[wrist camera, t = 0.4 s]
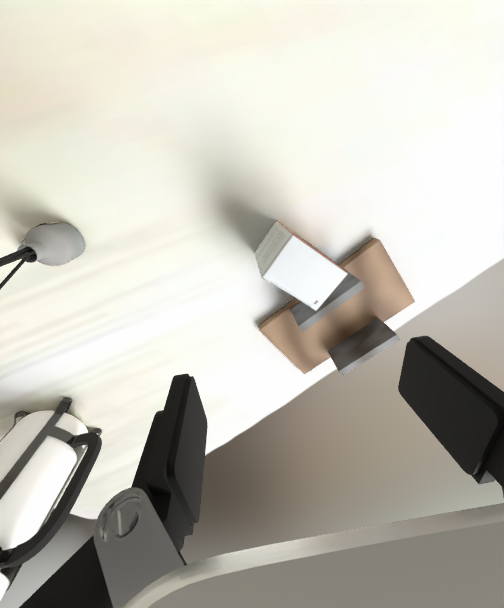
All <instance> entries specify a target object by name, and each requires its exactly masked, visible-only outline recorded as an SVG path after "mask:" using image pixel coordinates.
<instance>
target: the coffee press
mask: <svg viewBox="0 0 504 608" xmlns="http://www.w3.org/2000/svg"><path fill="white" fill-rule="evenodd" d="M71 403H72V400H71V399H67V398H63V399H62V401H61V403H60V404H59V406H58V408H57V409H56V411H52V410H45V411H38V412H34V413H31V414H29V415H27V414H26V412H24V411H20V412H17V413H16V414H15V417H14V426H13V427H12V428H11V430H10V431H9V432H8V433H7V434H6V435H5V436H4V437H3V439H2V440H1V441H0V600H1V598H2V597H3V595H4V593H5V592H6V591H7V590H8V589H9V588H10V586H11V584H12V582H13V581H14V579H15V577H16V575H17V573H18V572H19V570H20V568H21V566H22V564H23V563H24V562H26V561H28V560H29V559H31V558H32V557H33V556H35V555H36V554H37V553H38V552H40V551H41V550H42V549H43V548H44V547H45V546H46V544H48V542H49V541H50V540H51V539H52V538H53V536H54V535H55V534H56V533H57V531H58V530H59V529H60V527H61V526H62V524H63V523H64V521H65V520H66V518H67V516H68V515H69V513H70V511H71V509H72V507H73V506H74V504H75V502H76V500H77V498H78V496H79V494H80V492H81V490H82V488H83V486H84V484H85V482H86V480H87V478H88V476H89V474H90V472H91V470H92V467H93V465H94V463H95V461H96V459H97V457H98V455H99V452H100V449H101V445H102V440H101V438H100V435H101V432H102V431H101V429H94V430H92V431H89V432H88V430H87V428H86V426H85V425H84V424H83V423H82V422H81V421H80V420H79V419H77V418H76V417H74V416H72V415H70V414H67V410H68V408H69V406H70V405H71ZM20 416H23V417H24V418H22V419H21V420H20V421H19V422H18V423H17V424H16V425H15V423H16V418H17V417H20ZM96 433H98V434H99V435H97V434H96ZM86 445H87V446H86ZM87 447H88V448H87ZM86 449H87V451H86V453H85V455H84V457H83V459H82V461H81V463H80V464H79V466H78V468H77V470H76V472H75V474H74V475H73V477H72V479H71V481H70V483H69V485H68V486H67V488H66V490H65V492H64V494H63V496H62V497H61V499H60V501H59V503H58V505H57V507H56V508H55V510H54V512H53V513H52V515H51V516H50V518H49V519H48V517H49V515H50V514H51V512H52V510H53V508H54V506H55V505H56V503H57V501H58V499H59V497H60V495H61V494H62V492H63V490H64V488H65V486H66V485H67V483H68V481H69V479H70V477H71V475H72V474H73V472H74V470H75V468H76V466H77V465H78V463H79V461H80V459H81V457H82V456H83V454H84V452H85V450H86ZM47 519H48V521H47ZM46 521H47V522H46Z"/></svg>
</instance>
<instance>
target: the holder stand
mask: <svg viewBox="0 0 504 608" xmlns="http://www.w3.org/2000/svg"><path fill="white" fill-rule="evenodd" d="M338 266H340V267H341V268H342V269H344V270H345V271H346V272H347V273H348V274H347V275H346V276H345V278H344V279H343V280H342V281H341V282H340V284H339V285H338V286H337V287H336V288H335V289H334V291H333V292H332V293H331V294H330V295H329V296H328V298H327V299H326V300H325V301H324V302H323V304H322V305H321V306H320V307H319V308H318V309H317V310H316V311H315V310H313V309H312V308H311V307H309V306H308V305H306V304H305V303H303V302H302V301H300V300H298V299H297V298H294V299H293V300H292V301H290V302H289V303H288V304H287V305H285V306H284V307H283V308H281V309H280V310H279V311H277V312H276V313H275V314H273V315H272V316H271V317H269V318H268V319H267V320H265V321H264V322H263V323H261V324H260V325H259V329H260V331H261V332H262V333H263V334H264V335H265V336H266V337H267V338H268V339H269V340H270V341H271V342H272V343H273V344H274V345H275V346H276V347H277V348H278V349H279V350H280V351H281V352H282V353H283V354H284V355H285V356H286V357H287V358H288V359H289V360H290V361H291V362H292V363H293V364H294V365H295V366H296V367H297V368H298V369H300V370H301V371H302V372H303V373H304V374H306V373H307V372H309V371H310V370H312V369H313V368H315V367H316V366H318V365H319V364H321V363H322V362H324V361H325V360H327V359H328V358H330V357H331V358H332V360H333V362H334V363H335V365H336V367H337V369H338V370H339V372H340V373H341V374H342V375H344V374H346V373H347V372H349V371H351V370H352V369H354V368H355V367H357V366H359V365H360V364H362V363H363V362H365V361H366V360H368V359H370V358H371V357H373V356H374V355H376V354H378V353H379V352H381V351H382V350H384V349H386V348H387V347H388V346H390V345H392V344H394V343H395V342H397V341H398V340H400V339H399V337H398V336H397V334H396V333H395V332H393V331H392V330H391V329H390V328H389V327H388V326H387V325H386V324H385V323H384V322H385V321H386V320H388V319H389V318H391V317H392V316H394V315H395V314H397V313H399V312H400V311H402V310H403V309H405V308H406V307H408V306H409V305H411V304H412V303H414V302H415V301H414V299H413V297H412V295H411V294H410V292H409V290H408V288H407V287H406V285H405V283H404V281H403V280H402V278H401V276H400V274H399V273H398V271H397V269H396V267H395V266H394V264H393V262H392V260H391V259H390V257H389V255H388V253H387V252H386V250H385V248H384V246H383V245H382V243H381V241H380V240H378V239H376V238H374V239H372V240H371V241H370V242H368V243H367V244H366V245H364V246H363V247H362V248H360V249H359V250H358V251H356V252H355V253H354V254H353V255H351V256H350V257H349V258H347V259H346V260H345V261H343V262H342V263H341V264H339V265H338Z"/></svg>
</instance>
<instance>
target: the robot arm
mask: <svg viewBox="0 0 504 608" xmlns="http://www.w3.org/2000/svg"><path fill="white" fill-rule="evenodd" d="M398 389H399V392H400V394H401V396H402V397H403V398H404V399H405V401H406V402H407V403H408V404H409V405H410V407H411V408H412V409H413V410H414V412H415V413H416V414H417V415H418V416H419V418H420V419H421V420H422V421H423V422H424V423H425V424H426V426H427V427H428V428H429V429H430V431H431V432H432V433H433V434H434V435H435V437H436V438H437V439H438V440H439V442H440V443H441V444H442V445H443V446H444V448H445V449H446V450H447V451H448V452H449V453H450V455H451V456H452V457H453V458H454V460H455V461H456V462H457V463H458V464H459V465H460V467H461V468H462V469H463V470H464V471H465V472H466V473H467V474H470V475H472V477H473V478H474V479H475V480H476V481H477V482H478V484H483V483H488V482H493V481H495V480H496V481H497V482H498V483H499V484H500V485H501V486H502V490H503V497H504V392H503V391H501V390H500V389H499V388H498V387H496V386H495V385H493V384H492V383H491V382H489V381H488V380H487V379H485V378H484V377H483V376H481V375H480V374H479V373H477V372H476V371H474V370H473V369H472V368H471V367H469V366H468V365H466V364H465V363H464V362H462V361H461V360H460V359H458V358H457V357H456V356H454V355H453V354H452V353H450V352H449V351H448V350H446V349H445V348H444V347H442V346H441V345H440V344H438V343H437V342H435V341H434V340H433V339H431V338H430V337H428V336H421V337H415V338H411V339H410V341H409V342H408V343H407V346H406V351H405V356H404V361H403V366H402V371H401V376H400V381H399V386H398ZM206 436H207V418H206V415H205V412H204V409H203V405H202V402H201V399H200V396H199V392H198V389H197V386H196V383H195V379H194V377H193V376H192V377H190V376H189V374H182V375H176V376H174V377H173V380H172V383H171V387H170V390H169V394H168V397H167V400H166V404H165V407H164V410H163V411H158V412H157V413H156V414H155V416H154V419H153V422H152V425H151V428H150V432H149V435H148V438H147V441H146V444H145V447H144V450H143V453H142V456H141V459H140V462H139V465H138V469H137V472H136V475H135V478H134V481H133V484H132V487H131V488H128V489H126V490H123V491H121V492H120V493H118V494H117V495H115V496H114V497H113V498H112V499H111V500H110V501H109V502H108V503H107V504H106V505H105V506H104V508H103V509H102V511H101V512H100V514H99V516H98V518H97V520H96V523H95V527H94V531H93V536H92V537H91V538H90V539H89V540H88V541H87V542H86V543H85V544H84V545H83V546H82V547H81V548H80V549H79V550H78V551H77V552H76V553H75V554H74V555H73V556H72V557H71V558H70V559H69V560H67V561H66V563H64V565H62V566H61V567H60V568H59V569H58V570H57V571H56V572H55V573H54V574H53V575H52V576H51V577H50V578H49V579H48V580H47V581H46V582H45V583H44V584H43V585H42V586H41V587H40V588H39V589H38V590H37V591H36V592H35V593H34V594H33V595H32V596H31V597H30V598H29V599H28V600H27V601H26V602H24V603H23V605H21V606H20V607H19V608H504V503H502V504H496V505H490V506H485V507H478V508H472V509H467V510H461V511H455V512H449V513H443V514H437V515H432V516H426V517H420V518H415V519H409V520H404V521H398V522H392V523H387V524H381V525H375V526H370V527H364V528H358V529H353V530H347V531H342V532H336V533H331V534H325V535H320V536H314V537H309V538H304V539H298V540H293V541H287V542H282V543H276V544H271V545H266V546H261V547H257V548H251V549H246V550H242V551H237V552H232V553H227V554H222V555H219V556H215V557H211V558H207V559H204V560H200V561H196V562H193V563H191V564H188V565H187V563H186V561H185V560H184V558H183V556H182V555H181V552H180V550H181V549H182V548H183V544H184V537H185V536H186V535H192V534H193V526H194V523H197V522H198V521H199V515H200V504H201V493H202V481H203V470H204V459H205V448H206Z"/></svg>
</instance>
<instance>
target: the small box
mask: <svg viewBox="0 0 504 608" xmlns="http://www.w3.org/2000/svg"><path fill="white" fill-rule="evenodd" d="M255 256H256V260H257V263H258V267H259V270H260V274H261V277H262V278H263V279H265V280H266V281H268V282H270V283H272V284H274V285H275V286H277V287H279V288H280V289H282V290H284V291H285V292H287V293H289V294H290V295H292V296H294V297H295V298H297V299H298V300H300V301H302V302H303V303H305V304H306V305H308V306H309V307H311V308H312V309H313V310H315V311H316V310H317V309H318V308H319V307H320V306H321V305H322V304H323V302H324V301H325V300H326V299H327V298H328V296H329V295H330V294H331V293H332V292H333V291H334V289H335V288H336V287H337V286H338V285H339V284H340V282H341V281H342V280H343V279H344V278H345V276H346V275H347V274H348V273H347V272H346V271H345V270H344V269H342V268H341V267H340V266H338V265H337V264H336V263H335V262H333V261H332V260H331V259H329V258H328V257H327V256H326V255H324V254H323V253H322V252H320V251H319V250H318V249H316V248H315V247H313V246H312V245H311V244H309V243H308V242H306V241H305V240H303V239H302V238H301V237H299V236H298V235H296V234H295V233H293V232H292V231H291V230H289V229H288V228H286V227H285V226H284V225H282V224H281V223H280V222H278V221H275V223H274V224H273V226H272V227H271V229H270V230H269V232H268V233H267V235H266V236H265V238H264V239H263V241H262V242H261V244H260V245H259V247H258V248H257V250H256V251H255Z"/></svg>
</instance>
